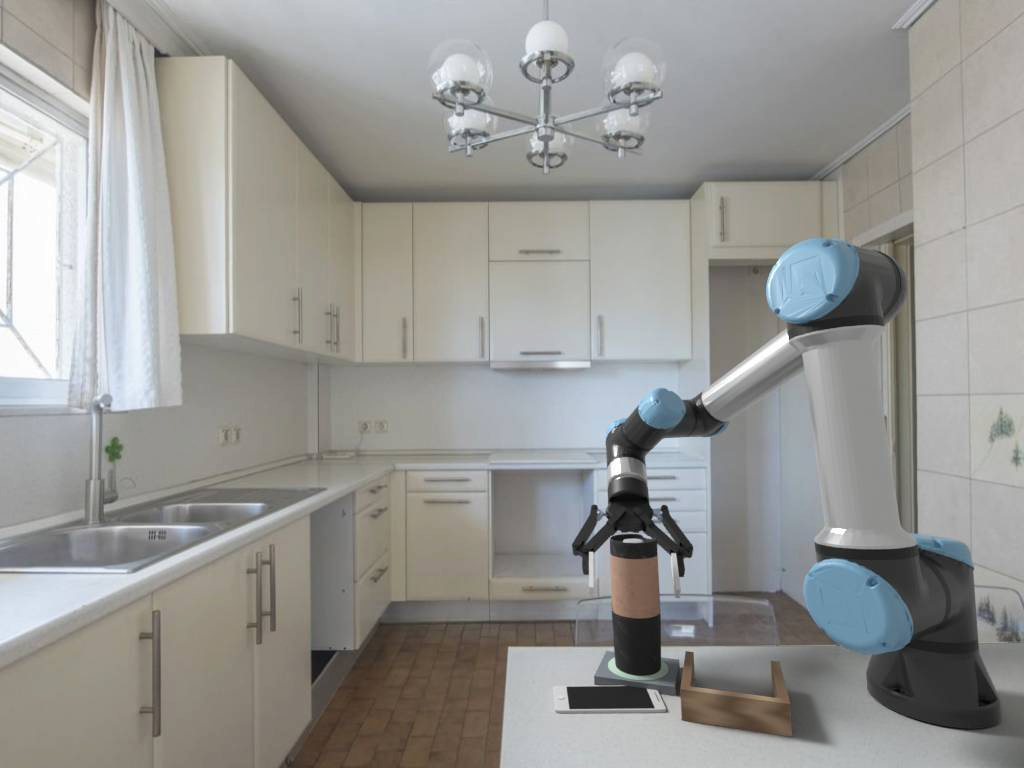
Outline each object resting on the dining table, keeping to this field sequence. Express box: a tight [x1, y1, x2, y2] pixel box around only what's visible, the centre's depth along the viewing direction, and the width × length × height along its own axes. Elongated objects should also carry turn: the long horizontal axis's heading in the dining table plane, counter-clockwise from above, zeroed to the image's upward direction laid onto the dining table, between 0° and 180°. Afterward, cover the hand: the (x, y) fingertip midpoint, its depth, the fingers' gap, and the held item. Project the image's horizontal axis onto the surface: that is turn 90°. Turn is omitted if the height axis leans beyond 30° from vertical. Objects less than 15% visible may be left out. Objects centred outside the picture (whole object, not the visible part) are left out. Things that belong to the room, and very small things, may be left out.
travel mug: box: [609, 533, 662, 676], centre depth 90 cm, size 8×8×20 cm
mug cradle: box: [679, 650, 793, 738], centre depth 79 cm, size 13×13×4 cm
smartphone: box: [552, 685, 667, 714], centre depth 81 cm, size 7×16×1 cm, turn 88°
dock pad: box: [593, 650, 681, 696], centre depth 89 cm, size 12×10×1 cm
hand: (634, 593), depth 90 cm, fingers open, 13 cm apart
